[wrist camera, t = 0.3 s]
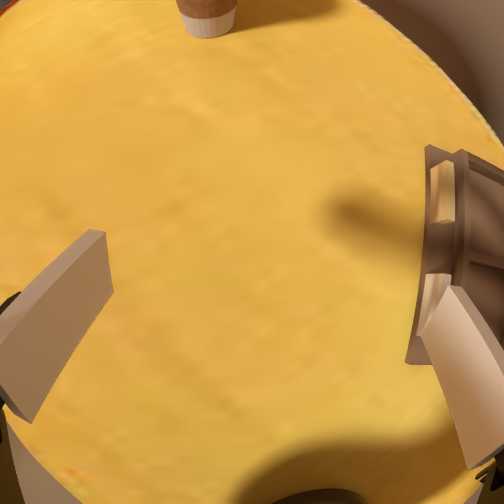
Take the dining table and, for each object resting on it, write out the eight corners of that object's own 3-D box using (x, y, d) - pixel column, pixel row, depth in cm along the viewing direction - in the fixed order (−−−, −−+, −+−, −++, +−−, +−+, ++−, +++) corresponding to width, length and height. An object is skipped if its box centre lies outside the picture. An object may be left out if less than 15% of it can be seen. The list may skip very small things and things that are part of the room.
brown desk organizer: (494, 360, 26) (514, 366, 22) (404, 362, 26) (425, 372, 22) (507, 185, 28) (526, 178, 24) (424, 147, 28) (444, 133, 24)
